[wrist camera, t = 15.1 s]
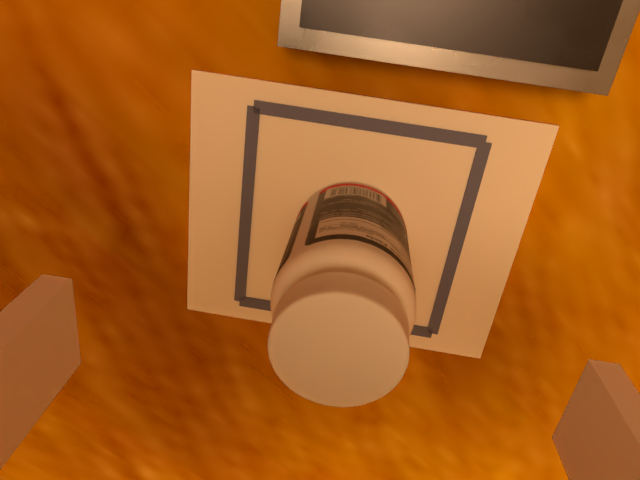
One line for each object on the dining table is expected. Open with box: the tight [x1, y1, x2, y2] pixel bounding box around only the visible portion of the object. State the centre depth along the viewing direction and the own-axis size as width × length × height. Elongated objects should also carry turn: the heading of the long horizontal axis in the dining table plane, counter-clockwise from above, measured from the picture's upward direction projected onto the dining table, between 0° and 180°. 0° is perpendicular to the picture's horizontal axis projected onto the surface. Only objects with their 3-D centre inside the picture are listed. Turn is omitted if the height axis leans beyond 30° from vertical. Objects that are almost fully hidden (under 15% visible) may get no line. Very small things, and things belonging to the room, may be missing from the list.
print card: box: [187, 69, 559, 358], centre depth 22 cm, size 14×11×1 cm
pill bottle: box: [268, 182, 416, 407], centre depth 18 cm, size 5×5×8 cm
